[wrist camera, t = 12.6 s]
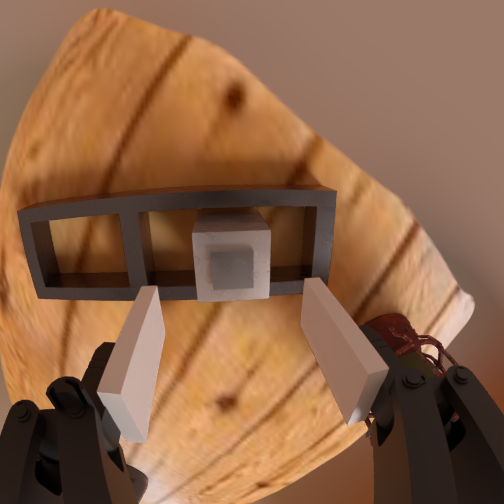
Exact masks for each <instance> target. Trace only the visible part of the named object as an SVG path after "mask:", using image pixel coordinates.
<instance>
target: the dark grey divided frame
mask: <svg viewBox="0 0 504 504" xmlns="http://www.w3.org/2000/svg"><path fill="white" fill-rule="evenodd" d="M336 194H337V191H336V190H333V189H330V188H328V187H325V186H320V185H217V186H193V187H175V188H160V189H147V190H136V191H125V192H115V193H106V194H97V195H89V196H81V197H74V198H67V199H60V200H54V201H48V202H41V203H36V204H33V205H30V206H28V207H26V208H23V209H21V210H18V211H17V213H18V219H19V225H20V231H21V236H22V241H23V245H24V250H25V254H26V258H27V262H28V266H29V270H30V273H31V277H32V280H33V284H34V287H35V290H36V293H37V296H38V299H60V300H100V301H135V299H136V297H137V295H138V293H139V291H140V289H141V287H142V286H157V288H158V294H159V300H198V298H197V288H196V278H195V270H185V271H155V266H154V258H153V250H152V242H151V233H150V224H149V213H148V211H160V210H177V209H197V208H222V207H263V206H305V212H304V230H303V245H302V259H301V265H298V266H278V267H270V285H269V296H277V295H291V294H303V291H304V280H305V278H318V277H319V278H320V279H321V280H322V281H323V283H324V284H325V285H326V286H327V285H328V277H329V269H330V261H331V252H332V242H333V232H334V221H335V208H336ZM118 213H119V218H120V226H121V234H122V241H123V247H124V254H125V260H126V266H127V271H128V272H119V273H68V274H60V273H59V269H58V265H57V261H56V256H55V252H54V247H53V242H52V237H51V232H50V226H49V220H58V219H67V218H76V217H85V216H96V215H107V214H118Z"/></svg>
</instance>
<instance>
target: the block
mask: <svg viewBox="0 0 504 504" xmlns="http://www.w3.org/2000/svg"><path fill="white" fill-rule="evenodd" d="M192 242H193V255H194V267H195V278H196V288H197V298H198V302H218V301H238V300H255V299H269V285H270V250H271V229H270V228H269V226H268V225H267V223H266V222H265V220H264V219H263V217H262V216H261V214H260V213H259V211H258V210H257V209H256V207H222V208H199V211H198V215H197V218H196V221H195V224H194V228H193V231H192Z"/></svg>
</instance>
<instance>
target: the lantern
mask: <svg viewBox="0 0 504 504" xmlns="http://www.w3.org/2000/svg"><path fill="white" fill-rule="evenodd" d="M365 325H368V326H369V327H371V328H373V329H374V330H376V331H377V332H378V333H379V335H380V336H381V337H382V338H383V340H384V341H385V342H386V343H387V344H388V347H390V348H391V349H392V350H393V352H394V353H395V354H396V355H397V357H398V358H399V359H400V360H401V362H402V363H403V364H404V365H405V367H406V368H412V369H417V370H419V371H421V372H423V373H424V374H425V375H426V376H427V378H430V377H443V376H445V374H446V372H447V371H446V370H445V369H444V368H443V366H442V358H443V354H444V355H445V356H446V357H447V358H448V359H449V360H450V361H451V363H452V364H453V365H459V364H458V363H457V362H456V361H455V360H454V359H453V358H452V357H451V356H450V355H449V354H448V353H447V351H446V350H445V349H444V347H443V346H442V343H440V342H439V341H438V340H436V339H434V338H433V337H432V336H429V335H418V334H417V333H416V332H415V329H413V328H412V327H411V325H410V322H409V321H408V320H407V319H406V317H405V316H402V315H398V314H385V315H383V316H380V317H378V318H376V319H374V320H371V321H369V322H367V323H366V324H365ZM418 338H428V339H421V340H419V339H418ZM424 344H432V345H434V346H435V347H436V348H437V349H438V351H439V354H438V361H437V360H436V359H435V358H434V357H433V356H431V355H428V354H425V353H423V352H421V345H424ZM426 357H428V358H430V359H431V360H432V361H433V363H434V364H435V365H436V366H434V364H433V363H432V362H431V361H430V360H429V359H427V358H426ZM439 369H440V370H441V371H442V372H443V373H442V374H441V373H440V372H439ZM369 418H374V416H373V414H372V413H369V414H368V416H367V418H366V420H364V421H365V423H366V425H367V427H368V429H369V427H370V425H371V422H370V420H369ZM453 418H454V419H455V420H458V419H459V416H458V414H457V413H455V414H454V415H453ZM370 436H371V437H370V444H371V446H372V447H373V438H372V432H371V434H370Z"/></svg>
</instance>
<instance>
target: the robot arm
mask: <svg viewBox="0 0 504 504" xmlns="http://www.w3.org/2000/svg"><path fill="white" fill-rule="evenodd" d="M300 327H301V329H302V331H303V333H304V335H305V337H306V339H307V341H308V343H309V345H310V347H311V350H312V352H313V354H314V356H315V358H316V360H317V362H318V364H319V366H320V368H321V370H322V373H323V375H324V377H325V379H326V381H327V383H328V385H329V387H330V389H331V392H332V394H333V396H334V398H335V400H336V402H337V404H338V406H339V409H340V411H341V413H342V415H343V417H344V419H345V421H346V423H347V425H350V424H353V423H357V422H360V421H363V420H366V418H367V416H368V414H369V412H370V410H371V412H372V414H373V416H374V417H375V418H374V420H373V422H372V424H371V425H370V427H369V429H368V431H367V432H366V437H369V435H370V434H371V432H372V438H373V453H374V454H373V457H374V504H504V415H503V413H502V412H501V410H500V409H499V408H498V406H497V405H496V403H495V402H494V401H493V399H492V398H491V396H490V395H489V394H488V392H487V391H486V390H485V388H484V387H483V386H482V384H481V383H480V382H479V380H478V379H477V378H476V376H475V375H474V374H473V373H472V372H471V371H470V370H469V369H468V368H466V367H464V366H460V365H454V366H452V367H450V368H449V369H448V370H447V372H446V374H445V376H443V377H430V378H427V376H426V375H425V374H424V373H423V372H421V371H419V370H417V369H412V368H406V367H405V365H404V364H403V363H402V362H401V360H400V359H399V358H398V357H397V355H396V354H395V353H394V352H393V350H392V349H391V348H390V347H388V344H387V343H386V342H385V341H384V340H383V338H382V337H381V336H380V335H379V333H378V332H377V331H376V330H374V329H373V328H371V327H369V326H368V325H363V326H357V325H356V323H355V322H354V321H353V319H352V318H351V317H350V316H349V314H348V313H347V312H346V310H345V309H344V308H343V307H342V305H341V304H340V303H339V301H338V300H337V299H336V298H335V296H334V295H333V294H332V293H331V291H330V290H329V289H328V288H327V286H326V285H325V284H324V283H323V281H322V280H321V279H320V278H319V277H318V278H305V280H304V291H303V301H302V311H301V320H300ZM165 334H166V332H165V327H164V322H163V317H162V312H161V306H160V300H159V294H158V288H157V286H142V287H141V289H140V291H139V293H138V295H137V297H136V299H135V301H134V303H133V306H132V308H131V310H130V312H129V314H128V316H127V319H126V321H125V323H124V325H123V328H122V330H121V332H120V334H119V337H118V339H117V341H116V343H112V342H104V343H103V344H101V345H100V346H99V347H98V348H97V349H96V350H95V352H94V354H93V357H92V359H91V361H90V363H89V365H88V368H87V369H86V372H85V374H84V376H83V378H82V381H80V380H79V379H77V378H75V377H68V376H65V377H61V378H58V379H56V380H55V381H53V382H52V383H51V384H50V385H49V387H48V388H47V391H46V395H47V397H48V398H49V400H50V401H51V403H52V404H53V406H54V407H55V409H44V410H39V408H38V407H37V406H36V404H35V403H34V402H32V401H30V400H21V401H18V402H16V403H15V404H14V405H13V406H12V407H11V409H10V411H9V413H8V416H7V418H6V421H5V424H4V427H3V429H2V432H1V435H0V504H139V502H140V501H141V499H142V497H143V495H144V493H145V491H146V489H147V486H148V478H147V476H146V475H144V474H143V473H142V472H140V471H138V470H136V469H134V468H132V467H130V466H128V465H126V461H125V458H124V454H123V450H122V447H121V445H120V444H119V438H120V434H121V435H122V436H123V438H124V439H125V441H129V442H138V443H146V442H147V434H148V427H149V420H150V414H151V408H152V402H153V396H154V390H155V384H156V379H157V374H158V368H159V363H160V358H161V353H162V348H163V344H164V339H165ZM455 413H457V414H458V416H459V419H458V420H455V419H454V418H453V415H454V414H455Z"/></svg>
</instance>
